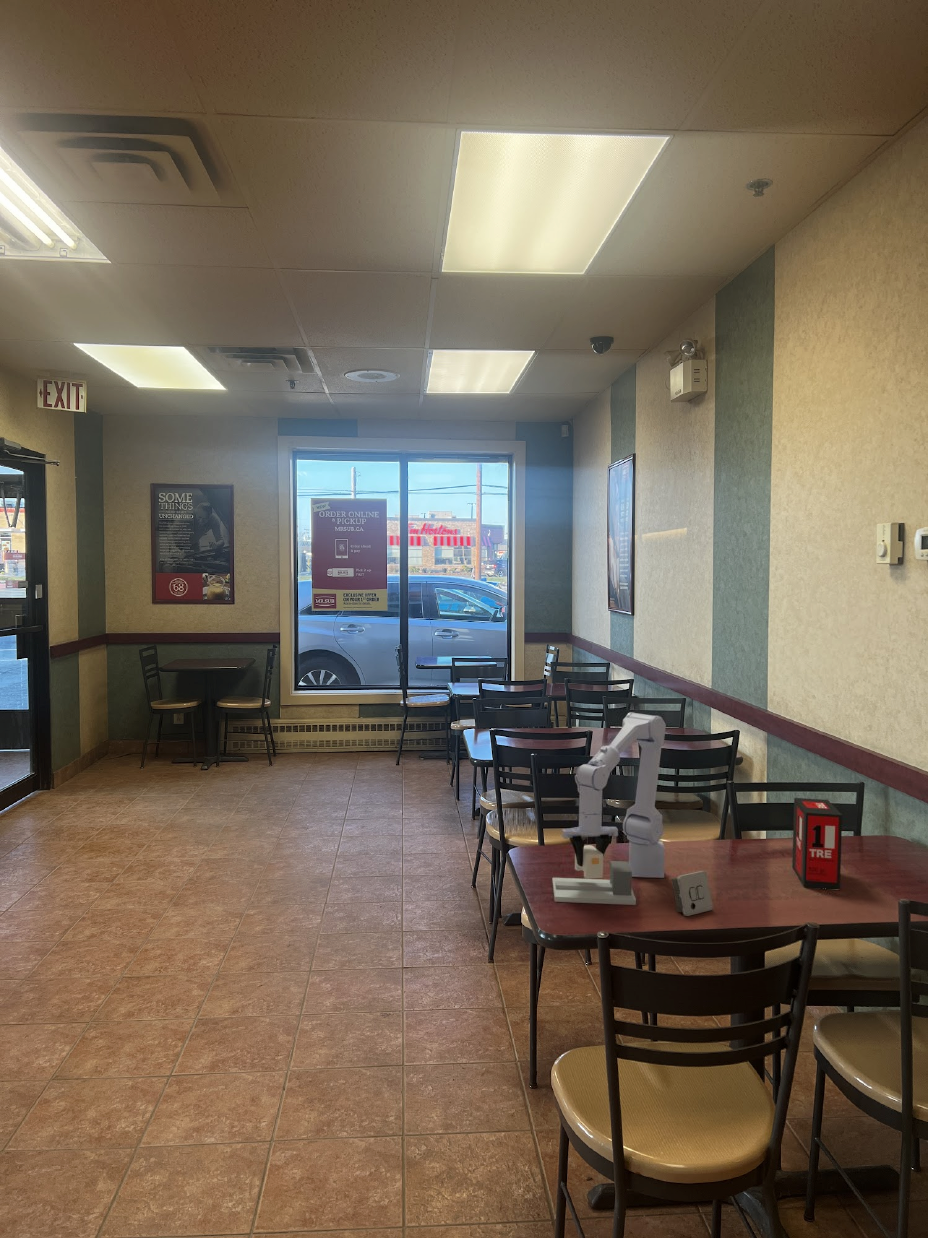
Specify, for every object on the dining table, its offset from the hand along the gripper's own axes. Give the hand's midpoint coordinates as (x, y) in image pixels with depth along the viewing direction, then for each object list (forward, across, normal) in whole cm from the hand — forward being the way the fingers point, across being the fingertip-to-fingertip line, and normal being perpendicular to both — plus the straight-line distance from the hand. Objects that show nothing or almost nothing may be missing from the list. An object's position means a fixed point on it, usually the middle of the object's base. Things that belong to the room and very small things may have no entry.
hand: (589, 864), depth 211 cm
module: (+2, 0, 0) cm, 2 cm away
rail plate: (+7, -1, 0) cm, 7 cm away
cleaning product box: (+8, -66, +1) cm, 66 cm away
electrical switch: (+8, -20, +16) cm, 27 cm away
